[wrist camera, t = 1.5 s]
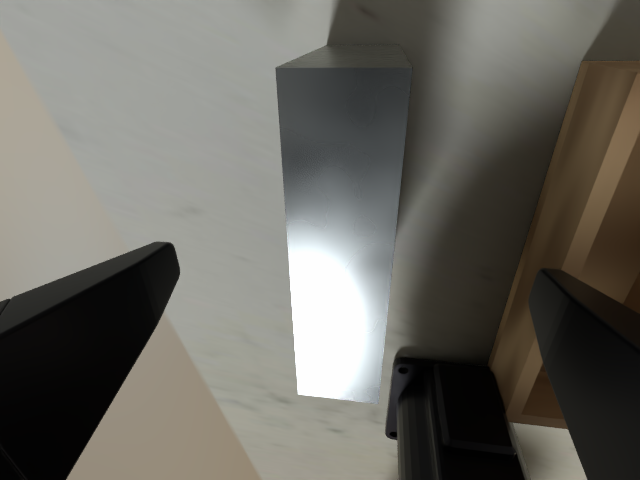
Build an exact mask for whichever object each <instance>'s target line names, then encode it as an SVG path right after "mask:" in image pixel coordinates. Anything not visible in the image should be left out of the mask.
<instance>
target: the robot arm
mask: <svg viewBox="0 0 640 480" xmlns="http://www.w3.org/2000/svg"><path fill="white" fill-rule="evenodd" d="M179 275H180V267H179V263H178V259H177V255H176V251H175V248H174V246H173V244H172V243H170V242H154V243H151V244H149V245H146V246H143V247H141V248H138V249H136V250H133V251H130V252H128V253H125V254H123V255H120V256H118V257H115V258H112V259H110V260H107V261H105V262H102V263H99V264H97V265H94V266H92V267H90V268H87V269H84V270H81V271H79V272H76V273H74V274H71V275H69V276H66V277H63V278H61V279H58V280H56V281H53V282H51V283H48V284H45V285H43V286H40V287H38V288H35V289H32V290H30V291H27V292H25V293H22V294H19V295H17V296H14V297H12V298H11V299H6V300H4V301H1V302H0V480H66V479H67V477H68V475H69V474H70V472H71V470H72V469H73V467H74V465H75V464H76V462H77V460H78V459H79V457H80V455H81V453H82V452H83V450H84V448H85V447H86V445H87V443H88V442H89V440H90V438H91V437H92V435H93V433H94V432H95V430H96V428H97V427H98V425H99V423H100V421H101V420H102V418H103V416H104V415H105V413H106V411H107V410H108V408H109V406H110V404H111V403H112V401H113V399H114V398H115V396H116V394H117V393H118V391H119V389H120V388H121V386H122V384H123V382H124V381H125V379H126V377H127V376H128V374H129V372H130V371H131V369H132V367H133V366H134V364H135V362H136V360H137V359H138V357H139V355H140V354H141V352H142V350H143V349H144V347H145V345H146V344H147V342H148V340H149V339H150V337H151V335H152V333H153V332H154V330H155V328H156V326H157V324H158V322H159V320H160V318H161V316H162V314H163V312H164V310H165V307H166V305H167V303H168V301H169V299H170V296H171V294H172V292H173V290H174V288H175V285H176V283H177V281H178V279H179ZM528 305H529V310H530V314H531V318H532V322H533V326H534V330H535V334H536V338H537V342H538V346H539V350H540V354H541V357H542V361H543V364H544V367H545V370H546V373H547V375H548V378H549V381H550V383H551V386H552V388H553V391H554V394H555V396H556V399H557V401H558V404H559V407H560V409H561V412H562V414H563V417H564V420H565V422H566V425H567V428H568V430H569V433H570V435H571V438H572V441H573V443H574V446H575V448H576V451H577V454H578V456H579V459H580V461H581V464H582V467H583V469H584V472H585V474H586V477H587V480H640V314H639V313H638V312H636V311H634V310H632V309H630V308H629V307H627V306H625V305H623V304H622V303H620V302H618V301H616V300H614V299H613V298H611V297H609V296H607V295H606V294H604V293H602V292H600V291H598V290H597V289H595V288H593V287H591V286H589V285H588V284H586V283H584V282H582V281H581V280H579V279H577V278H575V277H573V276H572V275H570V274H568V273H566V272H565V271H563V270H561V269H553V268H541V269H540V270H539V271H538V272H537V274H536V277H535V280H534V283H533V286H532V289H531V291H530V294H529V299H528ZM401 367H405V368H401ZM385 434H386V436H387V437H388V438H390V439H394V440H397V442H398V475H399V480H531V479H530V476H529V473H528V470H527V466H526V463H525V460H524V457H523V454H522V451H521V448H520V444H519V441H518V438H517V435H516V432H515V429H514V426H513V422H508V420H507V416H506V413H505V410H504V407H503V403H502V400H501V397H500V394H499V390H498V387H497V384H496V381H495V377H494V374H493V373H492V371H490V369H489V366H480V365H470V364H460V363H450V362H441V361H431V360H421V359H412V358H398V359H396V360H395V361H394V363H393V369H392V377H391V386H390V394H389V402H388V410H387V418H386V426H385Z"/></svg>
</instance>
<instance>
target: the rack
mask: <svg viewBox="0 0 640 480" xmlns="http://www.w3.org/2000/svg"><path fill="white" fill-rule="evenodd" d="M541 268H553V269H561V270H563V271H565V272H566V273H568V274H570V275H572V276H573V277H575V278H577V279H579V280H581V281H582V282H584V283H586V284H588V285H589V286H591V287H593V288H595V289H597V290H598V291H600V292H602V293H604V294H606V295H607V296H609V297H611V298H613V299H614V300H616V301H618V302H620V303H622V304H623V305H625V306H627V307H629V308H630V309H632V310H634V311H636V312H638V313H639V314H640V61H582V63H581V66H580V69H579V72H578V75H577V79H576V82H575V85H574V88H573V91H572V95H571V98H570V101H569V104H568V108H567V111H566V114H565V117H564V120H563V124H562V127H561V130H560V133H559V136H558V140H557V143H556V146H555V149H554V153H553V156H552V159H551V162H550V165H549V169H548V172H547V175H546V178H545V181H544V185H543V188H542V191H541V194H540V197H539V201H538V204H537V207H536V210H535V214H534V217H533V220H532V223H531V226H530V230H529V233H528V236H527V239H526V242H525V246H524V249H523V252H522V255H521V259H520V262H519V265H518V268H517V271H516V275H515V278H514V281H513V284H512V287H511V291H510V294H509V297H508V300H507V303H506V307H505V310H504V313H503V316H502V320H501V323H500V326H499V329H498V332H497V336H496V339H495V342H494V345H493V348H492V352H491V355H490V358H489V361H488V364H487V366H489V369H490V371H492V373H493V374H494V377H495V381H496V384H497V387H498V390H499V394H500V397H501V400H502V403H503V407H504V410H505V413H506V416H507V420H508V422H513V423H521V424H530V425H538V426H546V427H554V428H563V429H568V428H567V425H566V422H565V420H564V417H563V414H562V412H561V409H560V407H559V404H558V401H557V399H556V396H555V394H554V391H553V388H552V386H551V383H550V381H549V378H548V375H547V373H546V370H545V367H544V364H543V361H542V357H541V354H540V350H539V346H538V342H537V338H536V334H535V330H534V326H533V322H532V318H531V314H530V310H529V305H528V299H529V294H530V291H531V289H532V286H533V283H534V280H535V277H536V274H537V272H538V271H539V270H540V269H541Z"/></svg>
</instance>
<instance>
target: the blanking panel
mask: <svg viewBox="0 0 640 480" xmlns="http://www.w3.org/2000/svg"><path fill="white" fill-rule="evenodd" d="M412 69H413V67H412V66H411V64H410V62H409V61H408V59H407V57H406V56H405V54H404V52H403V51H402V49H401V47H400V45H399V44H398V45H326V46H323V47H321V48H319V49H317V50H314V51H312V52H310V53H308V54H305V55H303V56H301V57H299V58H296V59H294V60H292V61H290V62H287V63H285V64H283V65H281V66H278V67H276V81H277V96H278V110H279V125H280V139H281V154H282V168H283V183H284V197H285V212H286V226H287V240H288V255H289V269H290V284H291V298H292V313H293V327H294V342H295V356H296V370H297V385H298V394H300V395H309V396H317V397H325V398H334V399H342V400H350V401H359V402H367V403H375V404H378V402H379V392H380V383H381V373H382V363H383V353H384V343H385V334H386V324H387V314H388V304H389V294H390V284H391V275H392V265H393V255H394V245H395V235H396V226H397V216H398V206H399V196H400V186H401V177H402V167H403V157H404V147H405V137H406V128H407V118H408V108H409V98H410V88H411V79H412Z"/></svg>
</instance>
